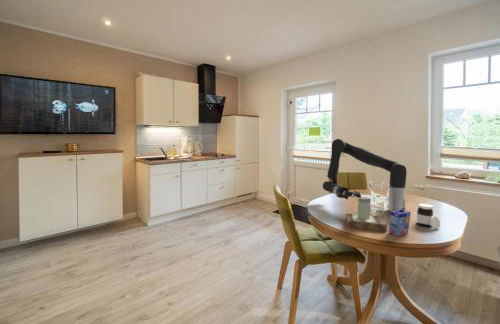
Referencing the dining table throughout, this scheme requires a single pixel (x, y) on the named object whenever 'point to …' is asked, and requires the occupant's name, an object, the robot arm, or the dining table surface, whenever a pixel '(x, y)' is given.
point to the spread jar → (427, 216)
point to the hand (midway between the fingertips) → (354, 197)
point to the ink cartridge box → (399, 222)
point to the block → (364, 208)
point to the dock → (366, 223)
